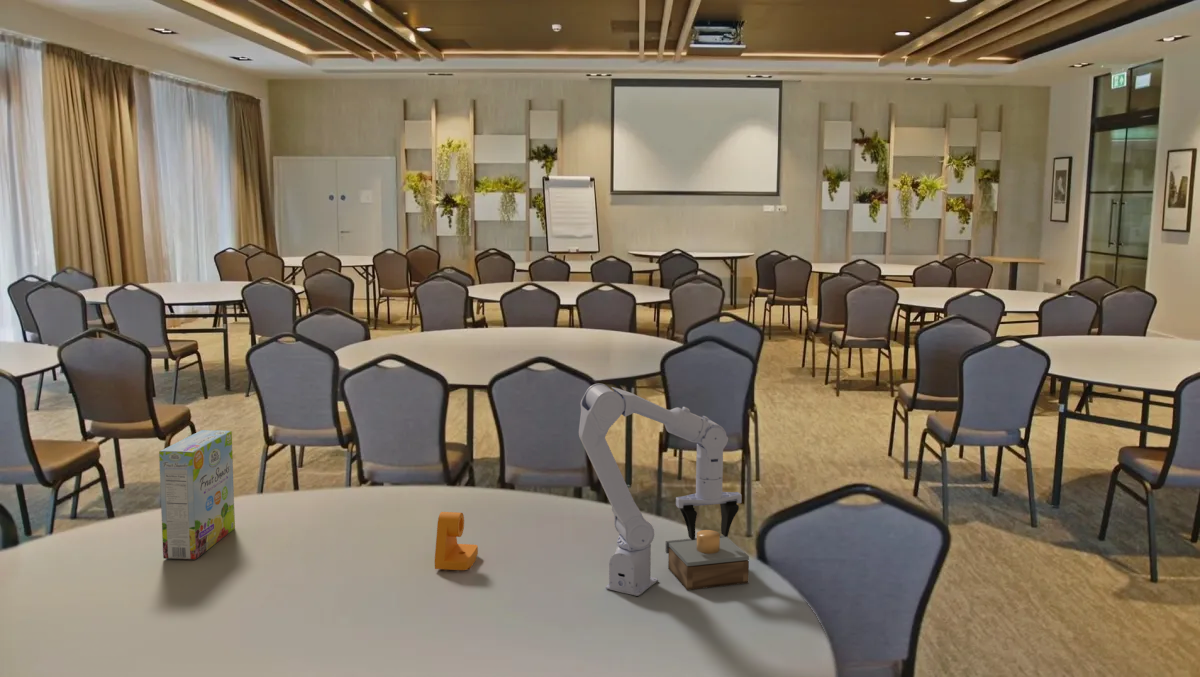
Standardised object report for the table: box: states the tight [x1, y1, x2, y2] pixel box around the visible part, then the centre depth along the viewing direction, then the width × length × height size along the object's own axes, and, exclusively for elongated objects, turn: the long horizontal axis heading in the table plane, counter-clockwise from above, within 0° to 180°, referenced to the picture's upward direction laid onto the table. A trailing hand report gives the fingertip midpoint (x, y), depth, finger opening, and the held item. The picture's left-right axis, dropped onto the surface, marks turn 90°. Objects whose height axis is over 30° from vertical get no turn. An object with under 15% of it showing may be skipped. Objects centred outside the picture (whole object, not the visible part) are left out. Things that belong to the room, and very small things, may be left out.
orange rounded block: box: [696, 529, 721, 554], centre depth 200 cm, size 5×5×4 cm
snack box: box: [158, 429, 236, 561], centre depth 218 cm, size 22×9×26 cm, turn 179°
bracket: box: [434, 511, 479, 571], centre depth 207 cm, size 11×7×12 cm, turn 173°
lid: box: [665, 534, 750, 566], centre depth 201 cm, size 13×15×3 cm
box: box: [667, 547, 750, 591], centre depth 200 cm, size 12×14×5 cm
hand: (708, 536), depth 199 cm, fingers open, 7 cm apart
